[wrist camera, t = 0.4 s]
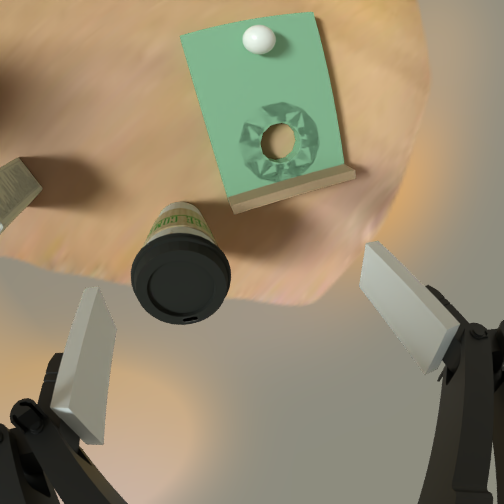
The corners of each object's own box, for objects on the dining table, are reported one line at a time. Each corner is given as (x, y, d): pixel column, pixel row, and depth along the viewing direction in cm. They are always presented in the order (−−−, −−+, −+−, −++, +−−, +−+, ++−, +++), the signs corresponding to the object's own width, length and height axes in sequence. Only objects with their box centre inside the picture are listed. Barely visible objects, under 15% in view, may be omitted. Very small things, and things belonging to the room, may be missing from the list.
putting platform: (180, 38, 29) (179, 30, 24) (307, 15, 29) (323, 6, 25) (228, 200, 40) (234, 214, 36) (338, 168, 41) (356, 178, 37)
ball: (236, 31, 28) (242, 25, 25) (266, 25, 28) (275, 19, 25) (244, 58, 30) (250, 55, 27) (274, 52, 30) (283, 49, 27)
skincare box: (2, 176, 31) (-46, 210, 20) (19, 155, 30) (-30, 183, 20) (27, 208, 34) (-14, 251, 24) (45, 188, 34) (3, 227, 23)
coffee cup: (210, 181, 38) (224, 231, 26) (222, 247, 44) (241, 318, 31) (135, 197, 37) (113, 256, 25) (154, 261, 42) (147, 337, 30)
